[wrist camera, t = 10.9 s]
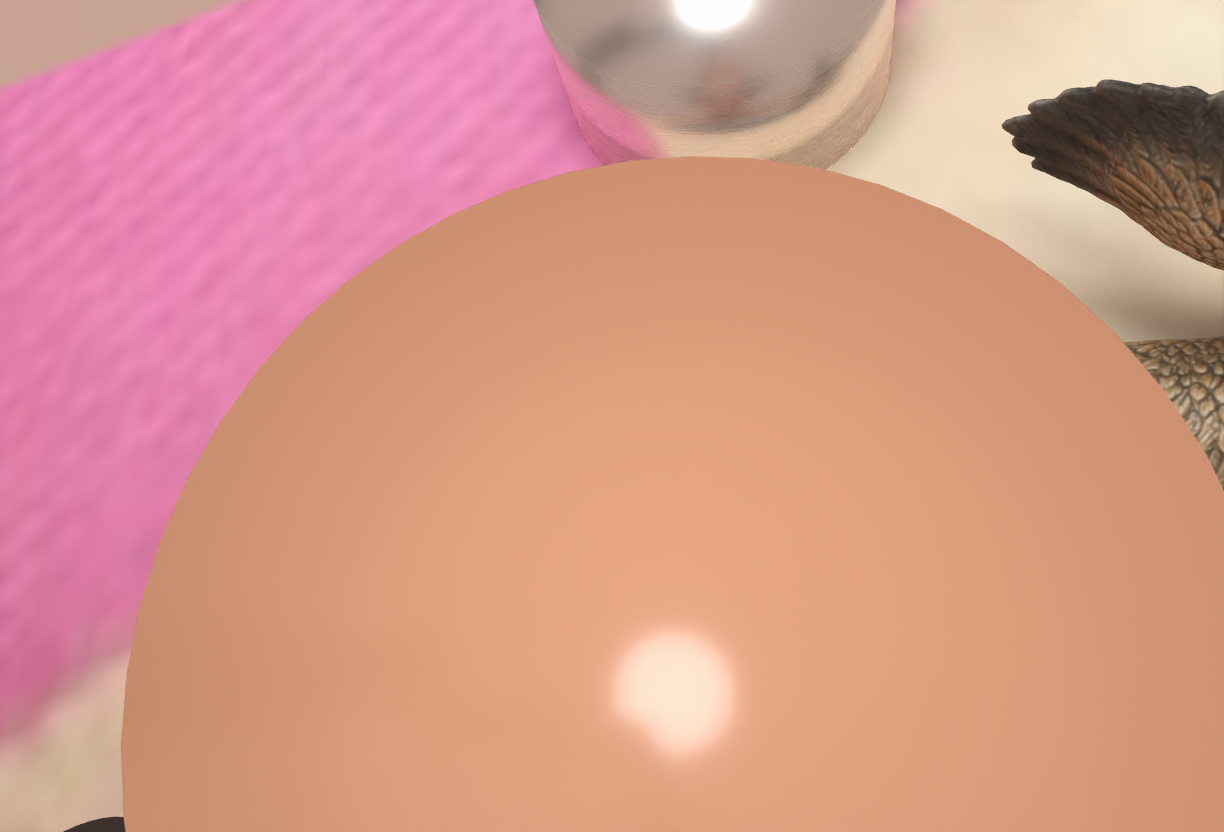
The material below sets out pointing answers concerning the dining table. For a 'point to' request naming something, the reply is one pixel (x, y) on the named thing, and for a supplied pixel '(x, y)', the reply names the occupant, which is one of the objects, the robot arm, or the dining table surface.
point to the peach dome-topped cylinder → (689, 538)
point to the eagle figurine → (1149, 205)
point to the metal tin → (722, 75)
